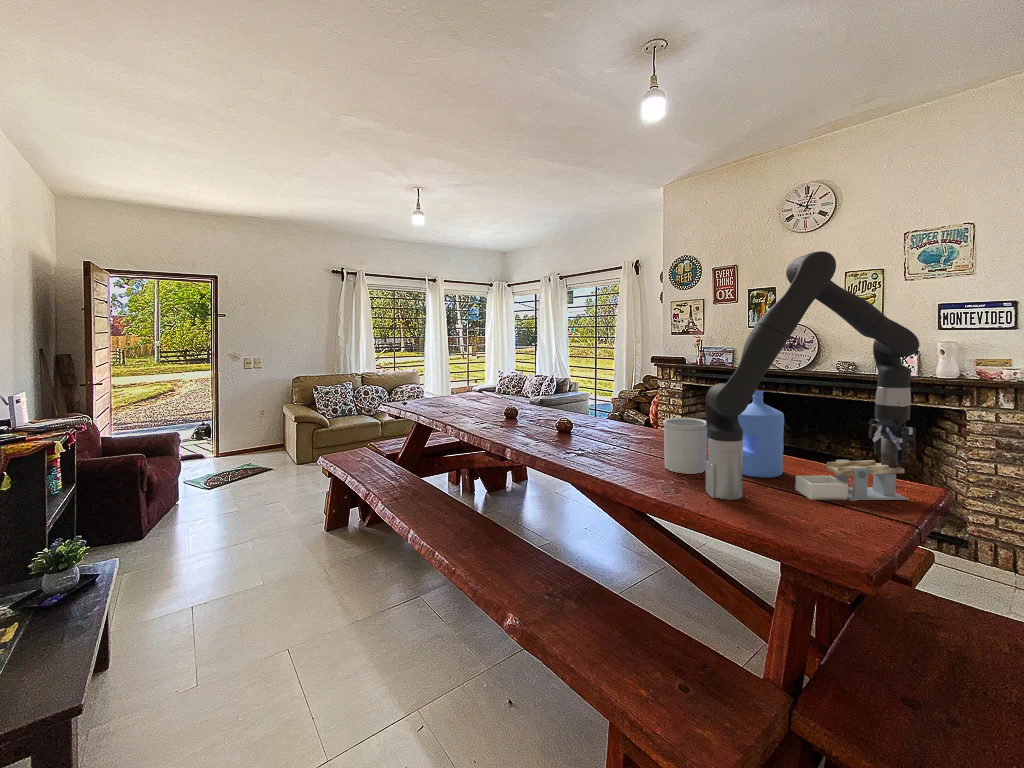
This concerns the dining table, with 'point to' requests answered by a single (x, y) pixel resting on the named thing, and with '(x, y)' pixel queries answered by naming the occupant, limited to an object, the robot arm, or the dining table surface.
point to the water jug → (762, 439)
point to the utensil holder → (685, 445)
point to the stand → (879, 491)
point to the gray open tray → (821, 488)
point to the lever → (871, 462)
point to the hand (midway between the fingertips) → (889, 458)
